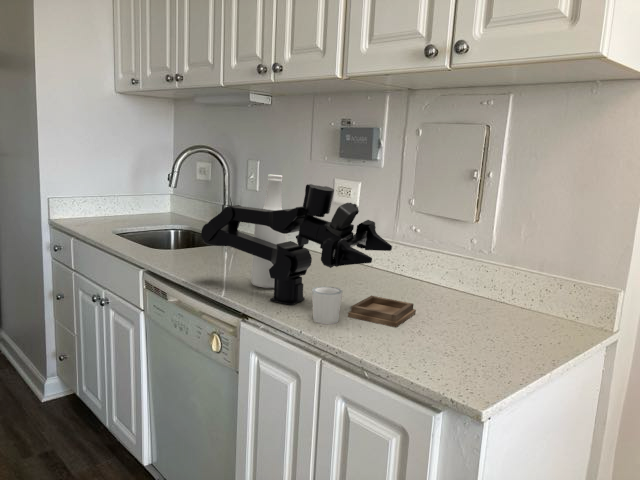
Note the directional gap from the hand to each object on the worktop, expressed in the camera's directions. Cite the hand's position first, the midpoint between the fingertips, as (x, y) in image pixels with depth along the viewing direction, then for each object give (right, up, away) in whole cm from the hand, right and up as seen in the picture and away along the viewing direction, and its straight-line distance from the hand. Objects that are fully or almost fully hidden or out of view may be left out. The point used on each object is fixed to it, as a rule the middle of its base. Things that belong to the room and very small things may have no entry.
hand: (381, 254), depth 116 cm
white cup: (-12, -15, +3) cm, 20 cm away
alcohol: (-28, -9, +29) cm, 41 cm away
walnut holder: (+1, -14, +8) cm, 17 cm away
